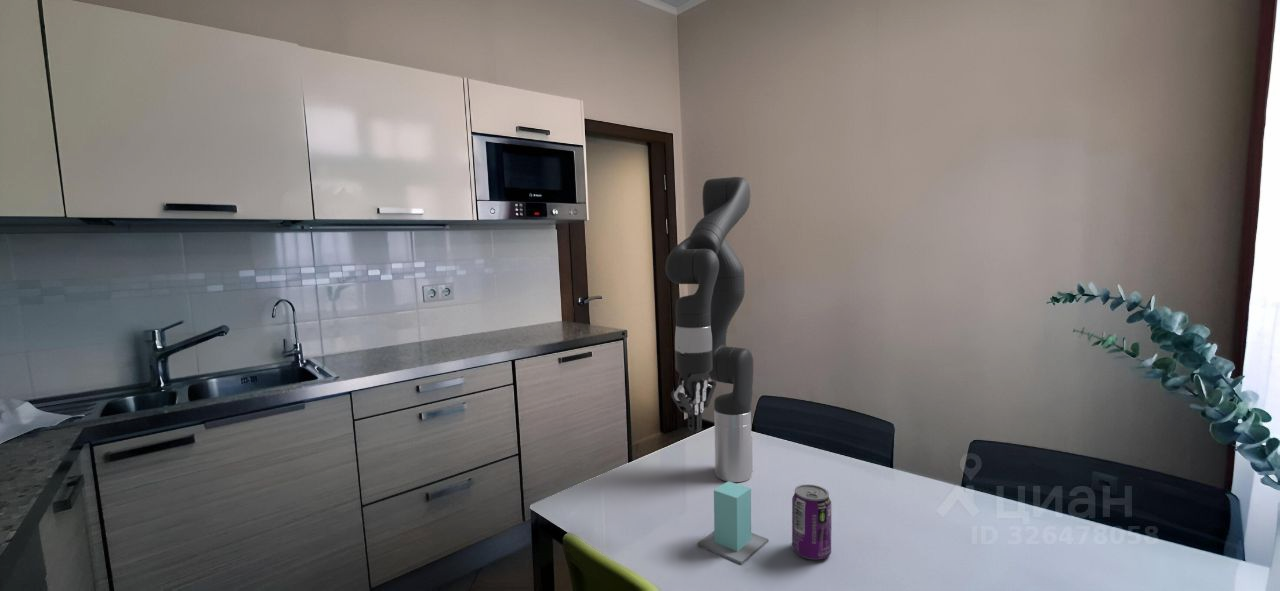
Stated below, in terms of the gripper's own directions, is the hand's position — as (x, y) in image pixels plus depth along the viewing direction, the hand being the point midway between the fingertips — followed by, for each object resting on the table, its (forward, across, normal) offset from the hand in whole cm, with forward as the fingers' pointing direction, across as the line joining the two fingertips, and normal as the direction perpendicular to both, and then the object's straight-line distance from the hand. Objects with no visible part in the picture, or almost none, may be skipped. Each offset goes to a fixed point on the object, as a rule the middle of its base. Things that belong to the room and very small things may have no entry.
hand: (694, 430), depth 108 cm
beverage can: (+21, -7, +22) cm, 31 cm away
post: (+21, 0, +9) cm, 23 cm away
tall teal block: (+20, 0, +9) cm, 22 cm away
